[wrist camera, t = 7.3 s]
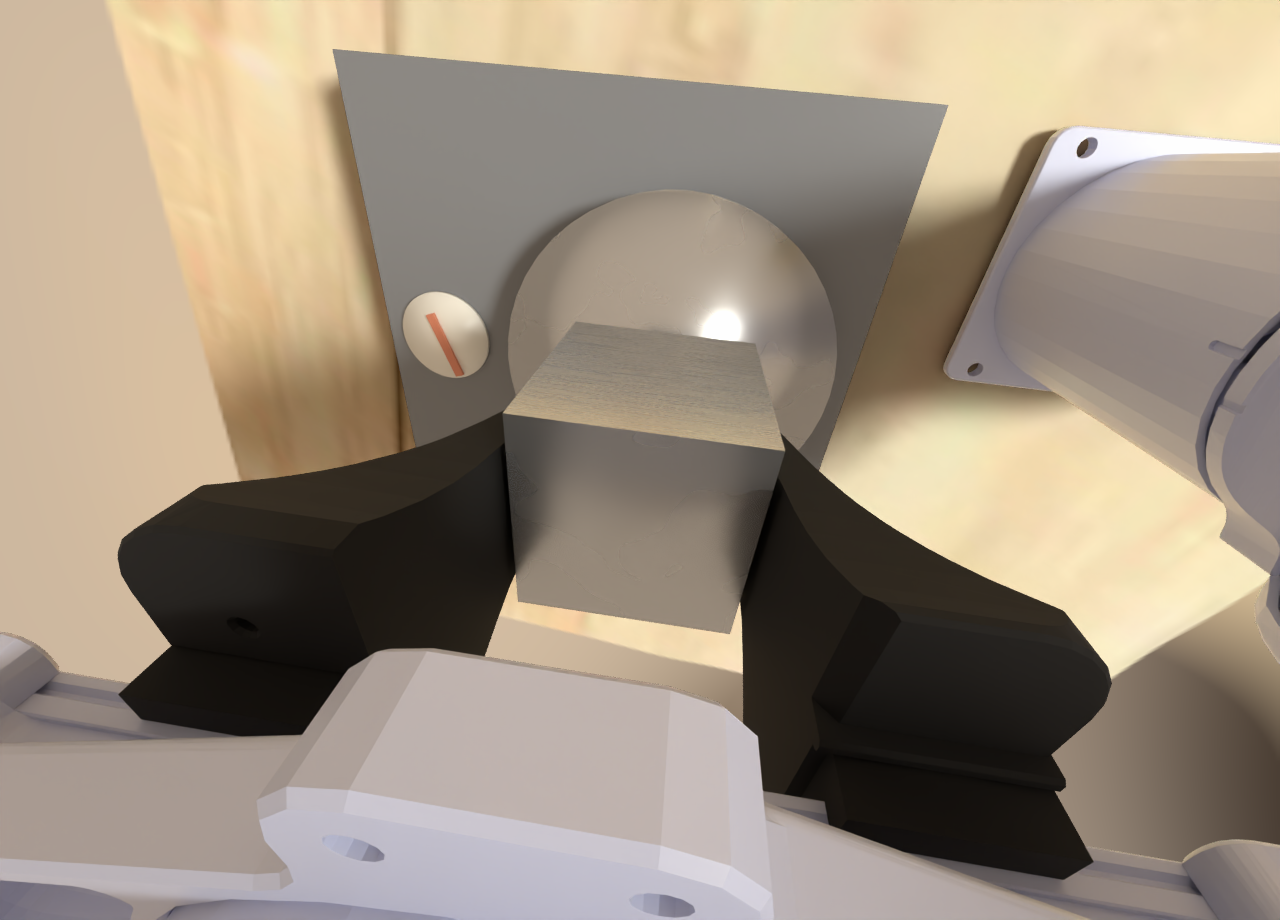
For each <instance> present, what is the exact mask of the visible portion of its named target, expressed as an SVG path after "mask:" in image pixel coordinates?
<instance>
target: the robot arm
mask: <svg viewBox="0 0 1280 920" xmlns="http://www.w3.org/2000/svg"><path fill="white" fill-rule="evenodd" d="M1085 139H1087V140H1088V143H1089V145H1088V148H1087V150H1086V152H1085V153H1084V154H1083V155H1082V156H1080V157H1078V156H1077V153H1076V152H1077V148H1078V146H1079V145H1080V143H1081V142H1082V141H1083V140H1085ZM975 363H978V367H977V368H976V369H975V370H974V371H972V372H967V371H968V368H969V367H970V366H971V365H973V364H975ZM943 370H944V373H945V374H946V375H947V376H948V377H950V378H951V379H954V380H960V381H968V382H977V383H985V384H993V385H1002V386H1010V387H1018V388H1027V389H1035V390H1043V391H1052V392H1055V393H1057V394H1058V395H1060V396H1061V397H1063V398H1064V399H1066V400H1067V401H1069V402H1070V403H1072V404H1073V405H1075V406H1076V407H1078V408H1079V409H1081V410H1082V411H1084V412H1085V413H1087V414H1088V415H1090V416H1091V417H1093V418H1095V419H1096V420H1098V421H1099V422H1101V423H1102V424H1104V425H1105V426H1107V427H1108V428H1110V429H1111V430H1113V431H1114V432H1116V433H1117V434H1119V435H1120V436H1122V437H1123V438H1125V439H1126V440H1128V441H1129V442H1131V443H1132V444H1134V445H1135V446H1137V447H1139V448H1140V449H1142V450H1143V451H1145V452H1146V453H1148V454H1149V455H1151V456H1152V457H1154V458H1155V459H1157V460H1158V461H1160V462H1161V463H1163V464H1164V465H1166V466H1167V467H1169V468H1170V469H1172V470H1173V471H1175V472H1176V473H1178V474H1179V475H1181V476H1183V477H1184V478H1186V479H1187V480H1189V481H1190V482H1192V483H1193V484H1195V485H1196V486H1198V487H1199V488H1201V489H1202V490H1204V491H1205V492H1207V493H1208V494H1210V495H1211V496H1213V497H1214V498H1216V499H1217V500H1219V501H1220V502H1222V503H1223V504H1224V505H1225V507H1226V514H1227V517H1226V523H1225V526H1224V528H1223V530H1222V532H1221V534H1220V538H1221V539H1222V540H1223V541H1225V542H1226V543H1227V544H1229V545H1230V546H1232V547H1233V548H1234V549H1236V550H1237V551H1238V552H1240V553H1241V554H1243V555H1244V556H1245V557H1247V558H1248V559H1249V560H1251V561H1252V562H1253V563H1255V564H1256V565H1258V566H1259V567H1260V568H1262V569H1263V570H1264V571H1266V572H1267V573H1269V574H1270V575H1271V576H1270V577H1269V578H1268V580H1267V581H1266V582H1265V584H1264V585H1263V586H1262V588H1261V589H1260V591H1259V594H1258V596H1257V599H1256V602H1255V622H1256V625H1257V627H1258V630H1259V632H1260V635H1261V637H1262V640H1263V641H1264V643H1265V644H1266V646H1267V647H1268V649H1269V650H1270V652H1271V653H1272V655H1273V656H1274V658H1275V659H1276V661H1277V662H1278V663H1279V664H1280V144H1272V143H1261V142H1250V141H1239V140H1228V139H1218V138H1207V137H1196V136H1185V135H1174V134H1163V133H1152V132H1141V131H1130V130H1119V129H1109V128H1098V127H1087V126H1071V127H1064V128H1062V129H1060V130H1058V131H1056V132H1055V133H1054V134H1053V135H1052V136H1051V137H1050V138H1049V140H1048V141H1047V143H1046V144H1045V146H1044V148H1043V150H1042V153H1041V155H1040V157H1039V159H1038V161H1037V163H1036V166H1035V168H1034V170H1033V172H1032V174H1031V176H1030V179H1029V181H1028V183H1027V185H1026V187H1025V189H1024V192H1023V194H1022V196H1021V198H1020V200H1019V202H1018V205H1017V207H1016V209H1015V211H1014V213H1013V215H1012V218H1011V220H1010V222H1009V224H1008V226H1007V228H1006V231H1005V233H1004V235H1003V237H1002V239H1001V241H1000V244H999V246H998V248H997V250H996V252H995V254H994V257H993V259H992V261H991V263H990V265H989V267H988V270H987V272H986V274H985V276H984V278H983V280H982V283H981V285H980V287H979V289H978V291H977V293H976V296H975V298H974V300H973V302H972V304H971V306H970V309H969V311H968V313H967V315H966V317H965V319H964V322H963V324H962V326H961V328H960V330H959V332H958V335H957V337H956V339H955V341H954V343H953V345H952V348H951V350H950V352H949V354H948V356H947V358H946V361H945V363H944V366H943ZM504 411H505V410H503V411H501V412H499V413H497V414H495V415H493V416H491V417H489V418H487V419H485V420H483V421H481V422H479V423H477V424H474V425H472V426H470V427H468V428H465V429H463V430H461V431H458V432H456V433H454V434H452V435H449V436H447V437H444V438H442V439H439V440H437V441H434V442H431V443H428V444H425V445H422V446H419V447H416V448H413V449H410V450H407V451H404V452H401V453H397V454H393V455H389V456H385V457H381V458H377V459H373V460H369V461H366V462H362V463H358V464H354V465H349V466H344V467H339V468H334V469H328V470H323V471H317V472H311V473H305V474H299V475H292V476H285V477H278V478H269V479H260V480H251V481H241V482H232V483H224V484H211V485H203V486H201V487H199V488H197V489H196V490H195V491H193V492H191V493H190V494H188V495H187V496H185V497H184V498H182V499H181V500H179V501H177V502H176V503H175V504H173V505H171V506H170V507H169V508H167V509H165V510H164V511H162V512H160V513H159V514H157V515H156V516H154V517H153V518H151V519H150V520H148V521H146V522H145V523H143V524H142V525H140V526H139V527H137V528H136V529H134V530H133V531H132V532H131V533H129V534H128V535H127V536H125V537H124V538H123V539H122V541H121V544H120V547H119V550H118V562H119V567H120V572H121V575H122V577H123V578H124V580H125V582H126V584H127V585H128V587H129V589H130V590H131V592H132V593H133V595H134V596H135V597H136V598H137V600H138V601H139V603H140V604H141V605H142V607H143V608H144V609H145V611H146V612H147V613H148V615H149V616H150V617H151V619H152V620H153V621H154V623H155V624H156V625H157V627H158V628H159V630H160V631H161V632H162V634H163V635H164V636H165V638H166V639H167V640H168V642H169V643H170V644H171V645H172V646H171V647H170V648H168V649H167V650H166V651H165V652H164V653H163V654H162V655H161V656H160V657H159V658H158V659H156V660H155V661H154V662H153V663H152V664H151V665H150V666H149V667H148V668H146V669H145V670H144V671H143V672H142V673H141V674H140V675H139V676H138V677H137V678H135V679H134V680H133V681H132V682H131V683H125V682H119V681H113V680H108V679H102V678H96V677H90V676H84V675H78V674H72V673H66V672H61V671H59V666H58V665H57V663H56V662H55V661H54V660H53V658H52V657H51V656H50V655H49V654H48V653H47V652H46V651H45V650H43V649H42V648H41V647H40V646H38V645H37V644H35V643H34V642H32V641H29V640H28V639H25V638H24V637H21V636H18V635H14V634H11V633H5V632H0V920H1280V845H1276V844H1269V843H1264V842H1258V841H1251V840H1236V839H1233V840H1224V841H1217V842H1214V843H1211V844H1208V845H1205V846H1202V847H1200V848H1198V849H1196V850H1195V851H1193V852H1192V853H1190V854H1189V855H1187V856H1186V857H1185V858H1184V860H1183V862H1177V861H1170V860H1165V859H1159V858H1153V857H1147V856H1141V855H1136V854H1129V853H1123V852H1117V851H1112V850H1106V849H1100V848H1094V847H1088V846H1085V845H1084V843H1083V842H1082V840H1081V838H1080V836H1079V834H1078V832H1077V831H1076V829H1075V827H1074V825H1073V823H1072V822H1071V820H1070V818H1069V816H1068V814H1067V813H1066V811H1065V809H1064V807H1063V806H1062V804H1061V802H1060V800H1059V798H1058V796H1057V795H1056V793H1055V791H1059V792H1060V791H1062V790H1063V789H1064V788H1065V787H1066V780H1065V778H1064V776H1063V774H1062V773H1061V771H1060V769H1059V767H1058V766H1057V764H1056V762H1055V760H1054V759H1053V757H1052V755H1051V754H1052V753H1053V752H1055V751H1056V750H1057V749H1058V748H1059V747H1061V745H1063V744H1064V743H1065V742H1066V741H1067V740H1069V739H1070V738H1071V737H1072V736H1073V735H1074V734H1076V733H1077V732H1078V731H1079V730H1080V729H1081V728H1082V727H1084V726H1085V725H1086V724H1087V723H1088V722H1089V721H1091V720H1092V718H1093V717H1094V716H1095V715H1096V714H1097V712H1098V711H1099V710H1100V709H1101V708H1102V707H1103V706H1104V704H1105V702H1106V700H1107V697H1108V693H1109V690H1110V687H1111V684H1112V682H1111V678H1110V674H1109V669H1108V667H1107V665H1106V664H1105V663H1104V661H1103V660H1102V659H1101V658H1100V656H1099V655H1098V654H1097V653H1096V651H1095V650H1094V649H1093V647H1092V646H1091V645H1090V644H1089V642H1088V641H1087V640H1086V639H1085V637H1084V636H1083V635H1082V633H1081V632H1080V631H1079V630H1078V628H1077V627H1076V626H1075V625H1074V623H1073V622H1072V621H1071V619H1070V618H1069V617H1068V616H1067V614H1066V613H1065V612H1064V611H1063V610H1060V609H1058V608H1056V607H1053V606H1051V605H1049V604H1046V603H1044V602H1041V601H1039V600H1037V599H1034V598H1032V597H1029V596H1027V595H1025V594H1022V593H1020V592H1018V591H1015V590H1013V589H1010V588H1008V587H1006V586H1003V585H1001V584H998V583H996V582H994V581H991V580H989V579H987V578H985V577H983V576H981V575H979V574H977V573H975V572H973V571H971V570H969V569H967V568H964V567H962V566H960V565H958V564H956V563H954V562H952V561H950V560H948V559H946V558H944V557H943V556H941V555H939V554H937V553H935V552H933V551H931V550H929V549H928V548H926V547H924V546H922V545H921V544H919V543H917V542H916V541H914V540H912V539H911V538H909V537H907V536H905V535H904V534H902V533H900V532H899V531H897V530H895V529H894V528H892V527H891V526H889V525H888V524H886V523H885V522H883V521H882V520H880V519H879V518H877V517H876V516H874V515H873V514H872V513H870V512H869V511H867V510H866V509H865V508H863V507H862V506H860V505H859V504H858V503H856V502H855V501H854V500H852V499H851V498H850V497H848V496H847V495H846V494H845V493H844V492H842V491H841V490H840V489H839V488H838V487H837V486H835V485H834V484H833V483H832V482H831V481H829V480H828V479H827V478H826V477H825V476H824V475H823V474H822V473H821V472H819V471H818V470H817V469H816V468H815V467H814V466H813V465H812V464H811V463H810V462H809V461H808V460H807V459H806V458H805V457H804V456H803V455H802V454H801V453H800V452H799V451H798V450H797V449H796V448H795V447H794V446H793V445H792V444H791V443H790V442H789V441H788V440H787V439H786V438H785V437H784V436H783V435H782V434H781V433H780V434H781V437H782V441H783V444H784V448H785V454H784V457H783V460H782V464H781V467H780V470H779V473H778V477H777V480H776V483H775V487H774V490H773V493H772V497H771V500H770V503H769V506H768V510H767V513H766V516H765V520H764V523H763V526H762V530H761V533H760V536H759V539H758V543H757V546H756V549H755V553H754V556H753V559H752V563H751V566H750V569H749V572H748V576H747V579H746V582H745V586H744V589H743V592H742V596H741V599H740V605H741V616H742V644H743V723H742V722H740V721H739V720H738V719H737V718H736V717H735V716H734V715H732V714H731V713H730V712H729V711H728V710H727V709H726V708H724V707H723V706H722V705H721V704H720V703H718V702H717V701H714V700H711V699H707V698H705V697H701V696H698V695H695V694H692V693H689V692H686V691H683V690H680V689H677V688H674V687H671V686H665V685H659V684H653V683H646V682H640V681H634V680H628V679H622V678H616V677H609V676H603V675H597V674H591V673H584V672H578V671H572V670H566V669H560V668H553V667H547V666H541V665H535V664H528V663H522V662H516V661H510V660H504V659H497V658H491V657H485V653H486V651H487V648H488V645H489V642H490V639H491V636H492V633H493V631H494V628H495V625H496V622H497V619H498V617H499V614H500V611H501V608H502V606H503V603H504V600H505V598H506V595H507V592H508V589H509V587H510V584H511V582H512V580H513V578H514V575H515V573H516V570H515V558H514V546H513V534H512V522H511V509H510V497H509V485H508V473H507V461H506V449H505V437H504V425H503V412H504Z"/></svg>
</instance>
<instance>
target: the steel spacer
mask: <svg viewBox="0 0 1280 920" xmlns="http://www.w3.org/2000/svg"><path fill="white" fill-rule="evenodd" d="M503 425H504V437H505V449H506V461H507V473H508V485H509V497H510V509H511V522H512V534H513V546H514V558H515V570H516V582H517V594H518V602H524V603H531V604H537V605H544V606H550V607H557V608H563V609H570V610H576V611H583V612H589V613H596V614H602V615H609V616H615V617H622V618H628V619H635V620H641V621H648V622H654V623H661V624H667V625H674V626H680V627H687V628H693V629H700V630H706V631H713V632H719V633H726V634H730V632H731V629H732V625H733V622H734V619H735V615H736V612H737V609H738V606H739V602H740V599H741V596H742V592H743V589H744V586H745V582H746V579H747V576H748V572H749V569H750V566H751V563H752V559H753V556H754V553H755V549H756V546H757V543H758V539H759V536H760V533H761V530H762V526H763V523H764V520H765V516H766V513H767V510H768V506H769V503H770V500H771V497H772V493H773V490H774V487H775V483H776V480H777V477H778V473H779V470H780V467H781V464H782V460H783V457H784V454H785V448H784V444H783V441H782V437H781V434H780V430H779V427H778V423H777V419H776V416H775V412H774V409H773V405H772V402H771V398H770V394H769V391H768V387H767V384H766V380H765V377H764V373H763V369H762V366H761V362H760V359H759V355H758V352H757V348H756V344H755V343H747V342H739V341H731V340H723V339H715V338H706V337H698V336H690V335H682V334H674V333H666V332H657V331H649V330H641V329H633V328H625V327H617V326H608V325H600V324H592V323H584V322H575V323H574V325H573V326H572V327H571V328H570V330H569V331H568V332H567V333H566V335H565V336H564V337H563V338H562V340H561V341H560V342H559V343H558V345H557V346H556V347H555V348H554V350H553V351H552V352H551V353H550V355H549V356H548V357H547V358H546V360H545V361H544V362H543V363H542V365H541V366H540V367H539V368H538V370H537V371H536V372H535V373H534V375H533V376H532V377H531V378H530V380H529V381H528V382H527V383H526V385H525V386H524V387H523V388H522V390H521V391H520V392H519V393H518V394H517V396H516V397H515V398H514V399H513V401H512V402H511V403H510V404H509V406H508V407H507V408H506V409H505V411H504V412H503Z"/></svg>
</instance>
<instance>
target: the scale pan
mask: <svg viewBox="0 0 1280 920" xmlns="http://www.w3.org/2000/svg"><path fill="white" fill-rule="evenodd" d="M575 322H584V323H592V324H600V325H608V326H617V327H625V328H633V329H641V330H649V331H657V332H666V333H674V334H682V335H690V336H698V337H706V338H715V339H723V340H731V341H739V342H747V343H755V344H756V348H757V352H758V355H759V359H760V362H761V366H762V369H763V373H764V377H765V380H766V384H767V387H768V391H769V394H770V398H771V402H772V405H773V409H774V412H775V416H776V419H777V423H778V427H779V430H780V433H781V434H782V435H783V436H784V437H785V438H786V439H787V440H788V441H789V442H790V443H791V444H792V445H793V446H794V447H795V448H796V449H797V450H799V449H800V448H801V447H802V445H803V444H804V443H805V441H806V440H807V439H808V438H809V436H810V435H811V434H812V432H813V430H814V428H815V427H816V425H817V423H818V422H819V420H820V418H821V416H822V414H823V412H824V409H825V407H826V404H827V402H828V399H829V397H830V393H831V389H832V385H833V382H834V378H835V370H836V361H837V335H836V328H835V323H834V317H833V312H832V309H831V306H830V303H829V300H828V297H827V294H826V291H825V289H824V287H823V285H822V283H821V281H820V279H819V277H818V275H817V273H816V271H815V269H814V268H813V266H812V265H811V264H810V262H809V261H808V260H807V258H806V257H805V255H804V254H803V253H802V251H801V250H800V249H799V248H798V247H797V246H796V245H795V244H794V243H793V242H792V241H791V240H790V239H789V238H788V237H787V236H786V235H785V234H784V233H783V232H782V231H781V230H780V229H779V228H778V227H776V226H775V225H774V224H772V223H771V222H770V221H768V220H767V219H766V218H764V217H763V216H762V215H760V214H759V213H757V212H755V211H753V210H751V209H749V208H747V207H745V206H743V205H742V204H740V203H738V202H735V201H732V200H729V199H726V198H723V197H721V196H718V195H715V194H710V193H704V192H699V191H693V190H678V189H662V190H654V191H646V192H639V193H636V194H632V195H628V196H625V197H621V198H618V199H615V200H613V201H611V202H608V203H606V204H604V205H602V206H600V207H597V208H595V209H593V210H591V211H589V212H587V213H586V214H584V215H583V216H581V217H580V218H578V219H577V220H575V221H573V222H572V223H570V224H569V225H568V226H567V227H566V228H564V229H563V230H562V231H561V232H560V233H559V234H558V235H557V236H555V237H554V238H553V239H552V240H551V241H550V242H549V244H548V245H547V246H546V247H545V248H544V249H543V251H542V252H541V253H540V254H539V255H538V257H537V258H536V260H535V261H534V263H533V264H532V266H531V268H530V269H529V271H528V273H527V274H526V276H525V278H524V280H523V282H522V285H521V287H520V289H519V292H518V294H517V296H516V300H515V303H514V307H513V311H512V314H511V319H510V327H509V335H508V359H509V366H510V373H511V378H512V382H513V386H514V389H515V393H516V396H517V394H518V393H519V392H520V391H521V390H522V388H523V387H524V386H525V385H526V383H527V382H528V381H529V380H530V378H531V377H532V376H533V375H534V373H535V372H536V371H537V370H538V368H539V367H540V366H541V365H542V363H543V362H544V361H545V360H546V358H547V357H548V356H549V355H550V353H551V352H552V351H553V350H554V348H555V347H556V346H557V345H558V343H559V342H560V341H561V340H562V338H563V337H564V336H565V335H566V333H567V332H568V331H569V330H570V328H571V327H572V326H573V325H574V323H575Z"/></svg>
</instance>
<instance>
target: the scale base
mask: <svg viewBox="0 0 1280 920" xmlns="http://www.w3.org/2000/svg"><path fill="white" fill-rule="evenodd" d="M333 54H334V59H335V63H336V68H337V73H338V78H339V82H340V87H341V92H342V97H343V102H344V106H345V111H346V116H347V121H348V125H349V130H350V135H351V140H352V145H353V149H354V154H355V159H356V164H357V168H358V173H359V178H360V183H361V187H362V192H363V197H364V202H365V207H366V211H367V216H368V221H369V226H370V230H371V235H372V240H373V245H374V250H375V254H376V259H377V264H378V269H379V273H380V278H381V283H382V288H383V292H384V297H385V302H386V307H387V312H388V316H389V321H390V326H391V331H392V335H393V340H394V345H395V350H396V355H397V359H398V364H399V369H400V374H401V378H402V383H403V388H404V393H405V397H406V402H407V407H408V412H409V417H410V421H411V426H412V431H413V436H414V440H415V445H416V447H419V446H422V445H425V444H428V443H431V442H434V441H437V440H439V439H442V438H444V437H447V436H449V435H452V434H454V433H456V432H458V431H461V430H463V429H465V428H468V427H470V426H472V425H474V424H477V423H479V422H481V421H483V420H485V419H487V418H489V417H491V416H493V415H495V414H497V413H499V412H501V411H503V410H505V409H506V408H507V407H508V406H509V404H510V403H511V402H512V401H513V399H514V398H515V397H516V393H515V389H514V386H513V382H512V378H511V373H510V366H509V359H508V335H509V327H510V319H511V314H512V311H513V307H514V303H515V300H516V296H517V294H518V292H519V289H520V287H521V285H522V282H523V280H524V278H525V276H526V274H527V273H528V271H529V269H530V268H531V266H532V264H533V263H534V261H535V260H536V258H537V257H538V255H539V254H540V253H541V252H542V251H543V249H544V248H545V247H546V246H547V245H548V244H549V242H550V241H551V240H552V239H553V238H554V237H555V236H557V235H558V234H559V233H560V232H561V231H562V230H563V229H564V228H566V227H567V226H568V225H569V224H570V223H572V222H573V221H575V220H577V219H578V218H580V217H581V216H583V215H584V214H586V213H587V212H589V211H591V210H593V209H595V208H597V207H600V206H602V205H604V204H606V203H608V202H611V201H613V200H615V199H618V198H621V197H625V196H628V195H632V194H636V193H639V192H646V191H654V190H662V189H678V190H693V191H699V192H704V193H710V194H715V195H718V196H721V197H723V198H726V199H729V200H732V201H735V202H738V203H740V204H742V205H743V206H745V207H747V208H749V209H751V210H753V211H755V212H757V213H759V214H760V215H762V216H763V217H764V218H766V219H767V220H768V221H770V222H771V223H772V224H774V225H775V226H776V227H778V228H779V229H780V230H781V231H782V232H783V233H784V234H785V235H786V236H787V237H788V238H789V239H790V240H791V241H792V242H793V243H794V244H795V245H796V246H797V247H798V248H799V249H800V250H801V251H802V253H803V254H804V255H805V257H806V258H807V260H808V261H809V262H810V264H811V265H812V266H813V268H814V269H815V271H816V273H817V275H818V277H819V279H820V281H821V283H822V285H823V287H824V289H825V291H826V294H827V297H828V300H829V303H830V306H831V309H832V312H833V317H834V323H835V328H836V335H837V361H836V370H835V378H834V382H833V385H832V389H831V393H830V397H829V399H828V402H827V404H826V407H825V409H824V412H823V414H822V416H821V418H820V420H819V422H818V423H817V425H816V427H815V428H814V430H813V432H812V434H811V435H810V436H809V438H808V439H807V440H806V441H805V443H804V444H803V445H802V447H801V448H800V449H799V450H798V451H799V452H800V453H801V454H802V455H803V456H804V457H805V458H806V459H807V460H808V461H809V462H810V463H811V464H812V465H813V466H814V467H815V468H816V469H817V470H818V471H819V469H820V466H821V463H822V460H823V458H824V455H825V452H826V449H827V446H828V444H829V441H830V438H831V435H832V432H833V429H834V427H835V424H836V421H837V418H838V415H839V412H840V410H841V407H842V404H843V401H844V398H845V396H846V393H847V390H848V387H849V384H850V381H851V379H852V376H853V373H854V370H855V367H856V364H857V362H858V359H859V356H860V353H861V350H862V348H863V345H864V342H865V339H866V336H867V333H868V331H869V328H870V325H871V322H872V319H873V317H874V314H875V311H876V308H877V305H878V302H879V300H880V297H881V294H882V291H883V288H884V285H885V283H886V280H887V277H888V274H889V271H890V269H891V266H892V263H893V260H894V257H895V254H896V252H897V249H898V246H899V243H900V240H901V237H902V235H903V232H904V229H905V226H906V223H907V221H908V218H909V215H910V212H911V209H912V206H913V204H914V201H915V198H916V195H917V192H918V190H919V187H920V184H921V181H922V178H923V175H924V173H925V170H926V167H927V164H928V161H929V158H930V156H931V153H932V150H933V147H934V144H935V142H936V139H937V136H938V133H939V130H940V127H941V125H942V122H943V119H944V116H945V113H946V110H947V108H948V105H942V104H931V103H920V102H909V101H898V100H887V99H876V98H865V97H854V96H843V95H832V94H821V93H810V92H799V91H788V90H777V89H766V88H755V87H744V86H733V85H722V84H711V83H700V82H689V81H678V80H667V79H656V78H645V77H634V76H623V75H612V74H601V73H590V72H579V71H568V70H557V69H546V68H535V67H524V66H513V65H502V64H491V63H480V62H469V61H458V60H447V59H436V58H425V57H414V56H403V55H392V54H381V53H370V52H359V51H348V50H337V49H333Z"/></svg>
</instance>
